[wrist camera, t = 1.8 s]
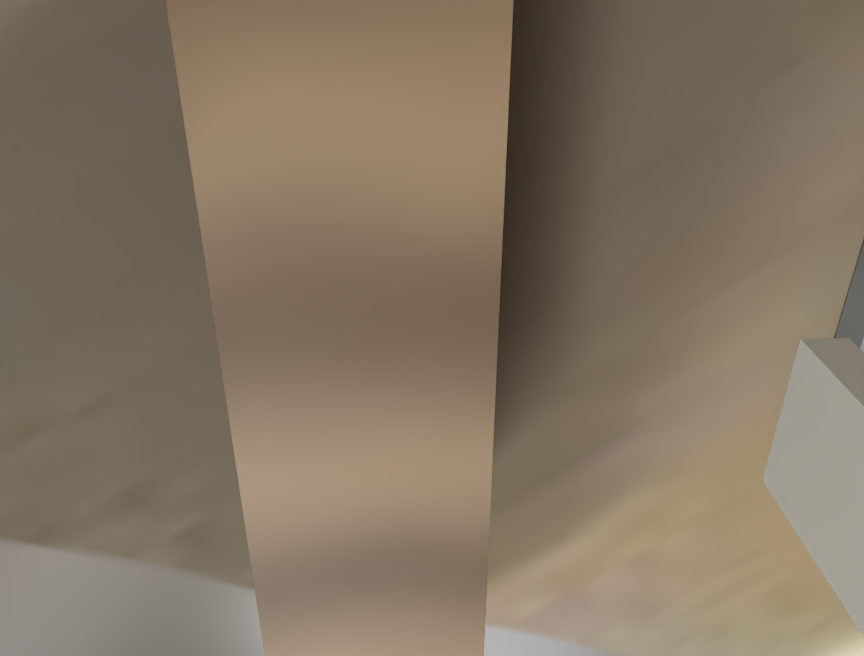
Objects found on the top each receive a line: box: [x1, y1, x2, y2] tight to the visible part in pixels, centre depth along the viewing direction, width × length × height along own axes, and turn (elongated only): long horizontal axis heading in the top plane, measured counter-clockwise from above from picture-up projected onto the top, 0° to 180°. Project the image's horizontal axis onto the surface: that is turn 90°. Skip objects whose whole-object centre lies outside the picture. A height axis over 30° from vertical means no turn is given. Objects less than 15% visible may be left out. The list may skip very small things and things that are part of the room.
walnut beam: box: [166, 0, 513, 656], centre depth 17 cm, size 20×5×7 cm, turn 0°
